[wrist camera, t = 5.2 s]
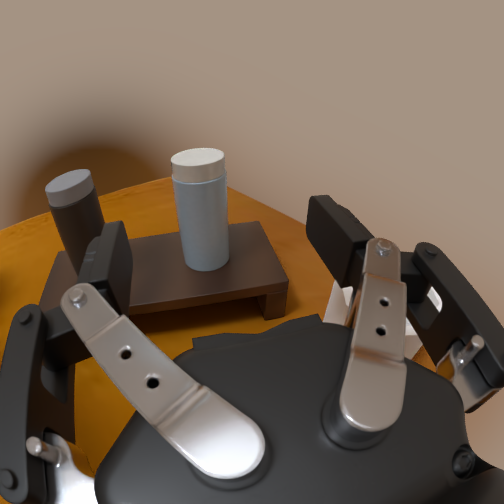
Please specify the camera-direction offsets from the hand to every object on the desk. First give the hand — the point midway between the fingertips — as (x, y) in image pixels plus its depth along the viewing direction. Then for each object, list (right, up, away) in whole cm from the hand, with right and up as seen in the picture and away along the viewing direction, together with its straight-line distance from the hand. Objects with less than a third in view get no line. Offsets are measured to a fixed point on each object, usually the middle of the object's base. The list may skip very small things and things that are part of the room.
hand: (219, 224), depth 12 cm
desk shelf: (-8, -6, +17) cm, 20 cm away
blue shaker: (-3, -2, +15) cm, 16 cm away
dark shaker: (-14, -3, +13) cm, 19 cm away
